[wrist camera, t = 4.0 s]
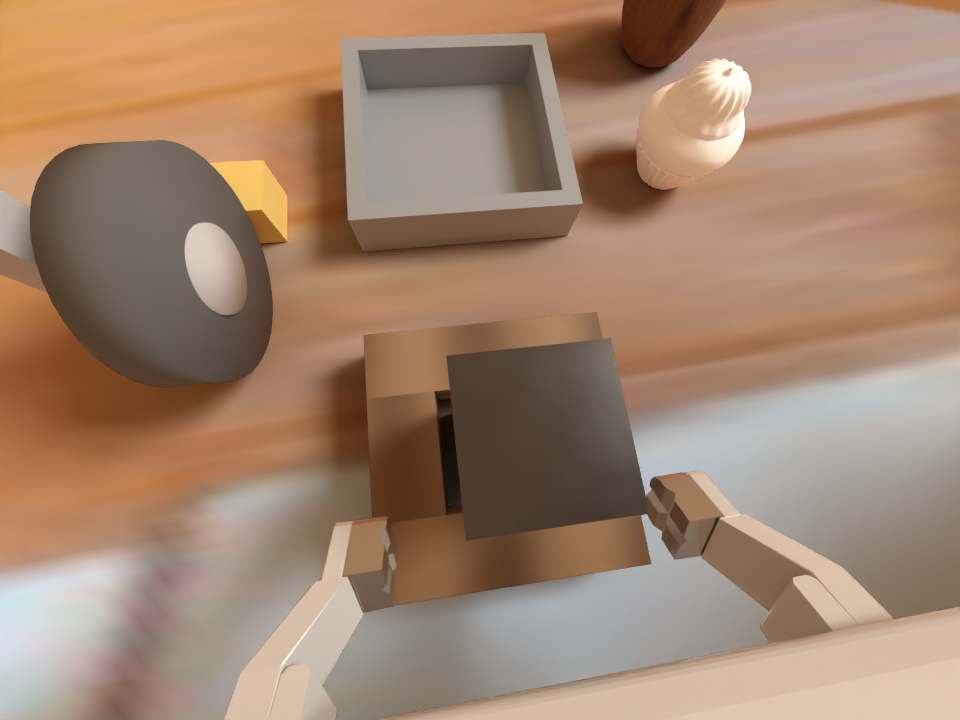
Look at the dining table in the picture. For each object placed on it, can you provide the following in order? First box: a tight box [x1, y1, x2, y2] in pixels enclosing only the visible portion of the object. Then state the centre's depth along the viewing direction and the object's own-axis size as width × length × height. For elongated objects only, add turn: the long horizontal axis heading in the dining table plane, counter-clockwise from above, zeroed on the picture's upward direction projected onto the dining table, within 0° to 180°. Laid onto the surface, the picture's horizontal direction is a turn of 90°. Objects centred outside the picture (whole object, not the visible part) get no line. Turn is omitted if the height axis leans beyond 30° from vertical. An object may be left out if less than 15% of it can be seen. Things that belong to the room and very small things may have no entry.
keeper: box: [363, 312, 651, 605], centre depth 18 cm, size 12×12×3 cm
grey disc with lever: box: [0, 140, 288, 387], centre depth 14 cm, size 7×13×15 cm, turn 7°
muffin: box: [636, 59, 751, 190], centre depth 22 cm, size 6×6×7 cm
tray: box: [341, 33, 583, 252], centre depth 23 cm, size 13×13×3 cm
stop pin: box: [446, 338, 649, 541], centre depth 14 cm, size 4×4×12 cm
